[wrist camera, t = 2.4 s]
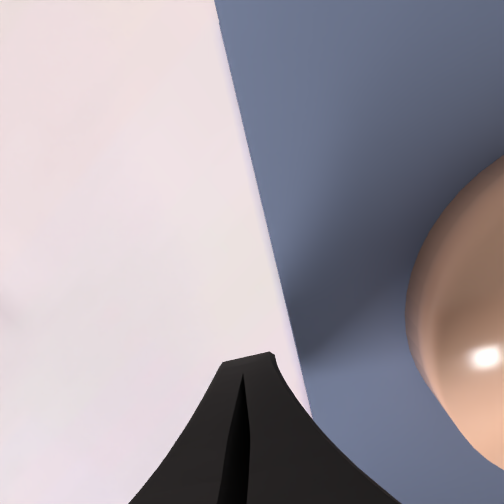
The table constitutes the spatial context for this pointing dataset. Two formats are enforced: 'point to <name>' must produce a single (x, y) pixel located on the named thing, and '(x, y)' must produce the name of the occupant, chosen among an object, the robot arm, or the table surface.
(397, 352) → the book
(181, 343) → the table surface
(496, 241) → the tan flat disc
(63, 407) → the table surface
